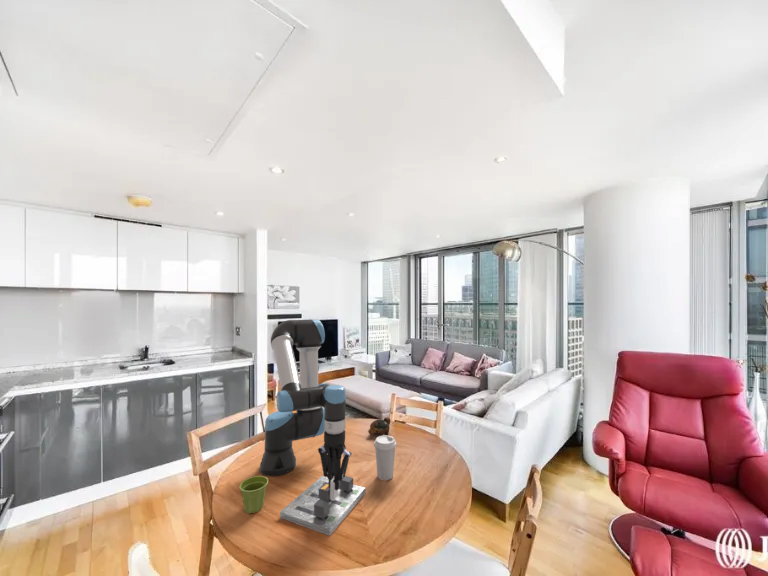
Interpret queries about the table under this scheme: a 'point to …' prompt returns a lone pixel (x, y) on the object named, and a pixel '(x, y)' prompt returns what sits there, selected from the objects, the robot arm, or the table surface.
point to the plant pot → (253, 493)
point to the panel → (338, 509)
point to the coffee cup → (385, 456)
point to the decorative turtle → (380, 426)
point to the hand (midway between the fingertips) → (334, 497)
